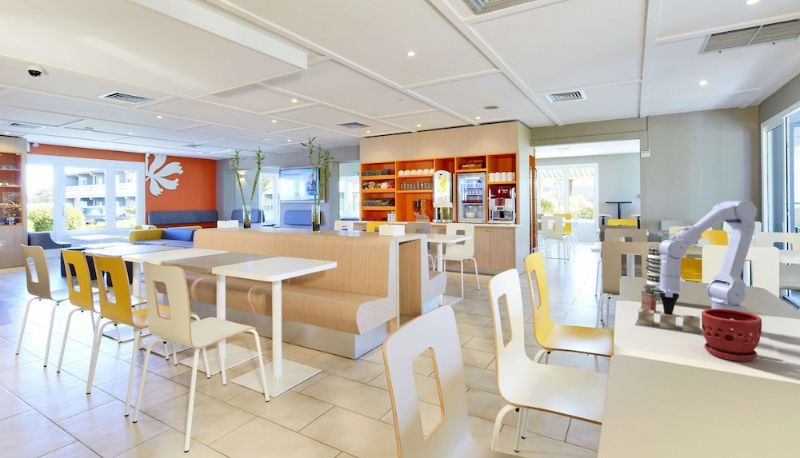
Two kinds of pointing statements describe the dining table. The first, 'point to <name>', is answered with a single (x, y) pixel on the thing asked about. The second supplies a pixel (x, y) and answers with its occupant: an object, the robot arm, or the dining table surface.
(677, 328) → the felt strip
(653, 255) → the decorative candle
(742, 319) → the plant pot
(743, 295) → the robot arm
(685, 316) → the block one
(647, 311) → the block seven
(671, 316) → the plain block
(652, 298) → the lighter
